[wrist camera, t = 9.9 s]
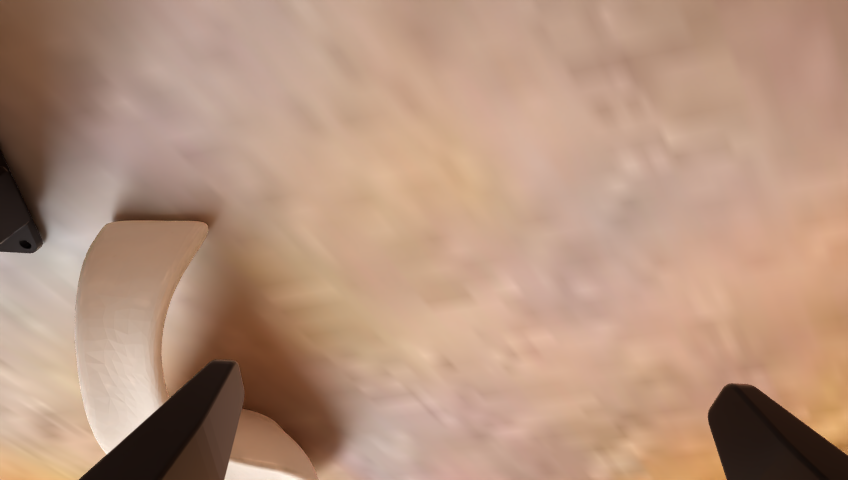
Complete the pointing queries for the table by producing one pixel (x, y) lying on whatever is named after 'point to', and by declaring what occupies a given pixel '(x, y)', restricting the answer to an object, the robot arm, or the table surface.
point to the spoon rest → (153, 344)
